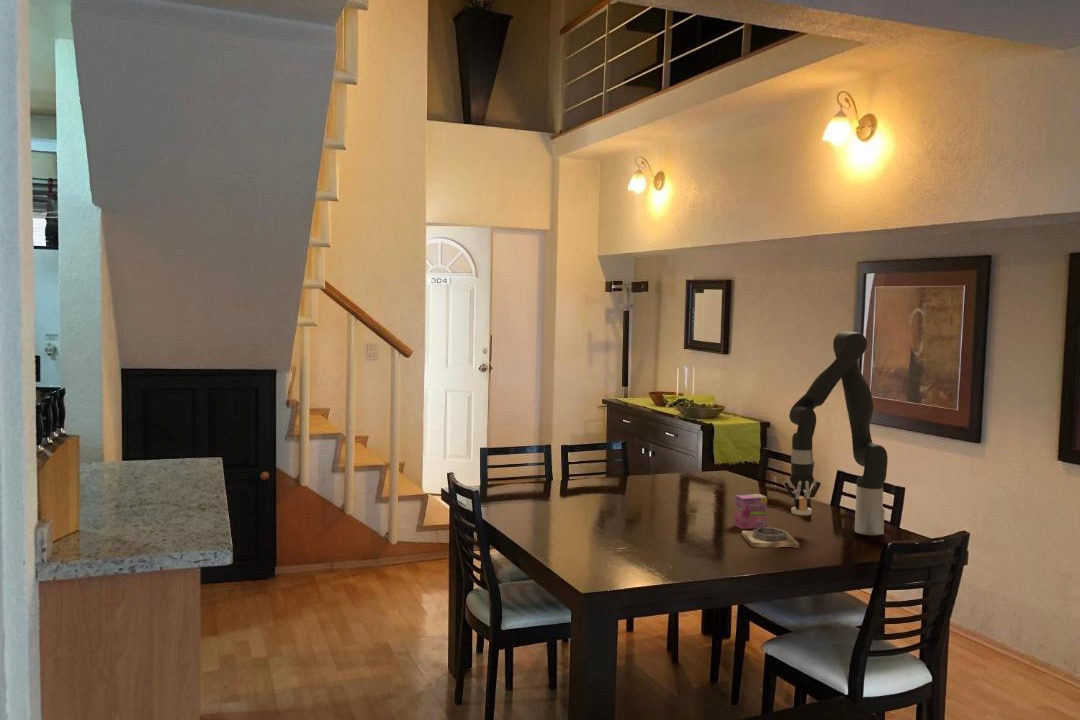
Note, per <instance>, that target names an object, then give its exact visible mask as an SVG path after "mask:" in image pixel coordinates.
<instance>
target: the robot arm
mask: <svg viewBox="0 0 1080 720" xmlns="http://www.w3.org/2000/svg"><path fill="white" fill-rule="evenodd" d="M832 344H833V346H832V347H833V348H832V349H833V352H834V355H835V360H834V361H833V362H832V363H831V364H830V365H829V366H828V367H827V368H825V369H824V370H823V371H822V372H821V373H819V375H818V376H817V377H816V378H815V379H814V381H813V382H812V383H811V385H810V386H809V387H808V389H807V391H806V393H804V395H802V396H801V397H800V398H799V399H798V401H796V402H795V403H794V405H793V406H792V407H791V409H790V410H789V414H788V416H789V420H790V422H791V423H792V424H794V425H797V431H796V432H794V433H793V434H792V439H791V440H792V441H791V456H790V458H791V459H790V461H791V462H790V463H791V466H790V477H789V479H788V480H787V481H785V480H783V482H782V484H783V486H784V488H785V491H786V492H787V494H788V496H789V498H792V499H793V507H795V508H796V509H799V497H800V493H801V490H802V491H803V494H804V496H803V497H805V498H806V499H807V509H808V508H810V499H811V498H812V499H813V498H815V497H816V495H817V492H818V490H819V489H820V487H821V485H822V484H821V482H820V481H819V480H815V478H814V471H813V470H814V452H813V437H814V435H815V429H816V425H817V414H816V412H815V411H814V410H815V408H817V407H820V406H822V405H823V404H824V403H825V402H826V400H827V399H828V398H829V396H830V395H831V393H832V391H833V389H834V388H835V387H836V385H837V384H838V383H839V382H840V380H841V384H842V388H843V393H844V400H845V404H846V409H847V410H846V411H847V414H848V420H849V426H850V431H851V432H850V433H851V441H852V444H851V445H852V454H853V458H854V461H855V463H856V464H857V465H859V466H862V467H863V474H862V475H861V476H859V477H857V478H856V491H855V495H856V496H855V514H854V515H855V516H854V517H855V518H854V532H855V533H856V534H859V535H866V536H880V535H884V534H885V533H884V531H885V510H886V509H885V508H883V504H884V503H883V502H884V501H883V500H884V484H885V482H886V479H887V472H888V460H889V459H888V452H887V450H886V448H885V447H884V446H883V445H880V444H878V443H874V442H873V440H872V435H871V430H870V429H871V426H870V424H871V420H872V418H873V413H874V401H873V396H872V391H871V388H870V386H869V384H868V382H867V380H866V378H865V377H864V375H863V374H862V371H861V369H860V367H859V363H858V360H860V358H861V357H862V356H863V354H864V353H865V351H866V350H867V348H868V340H867V338H866V336H865V335H864V334H863V333H860V332H857V331H855V332H854V331H840V332H838V333H837V334H836V335H835V336H834V338H833V342H832ZM791 484H792V485H791ZM791 486H793V491H792V489H791ZM811 486H812V488H811V490H810V487H811Z"/></svg>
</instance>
